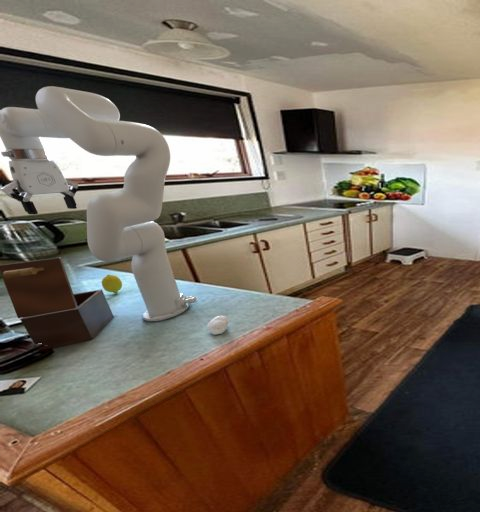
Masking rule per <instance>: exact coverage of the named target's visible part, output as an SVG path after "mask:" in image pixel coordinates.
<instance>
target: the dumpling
mask: <svg viewBox="0 0 480 512" xmlns="http://www.w3.org/2000/svg"><path fill="white" fill-rule="evenodd" d="M228 324H229V318H228V317H227V316H225V315H217V316H215V317H214V318H212V319H211V320H209V322H208V323H207V325H206V329H207V330H208V331H210V333H211V334H212V335H214V336H215V335H222V334H223V333H225V332H226V330H227V328H228Z"/></svg>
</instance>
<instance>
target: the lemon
mask: <svg viewBox="0 0 480 512" xmlns="http://www.w3.org/2000/svg"><path fill="white" fill-rule="evenodd" d="M101 286H102V289H103V290H104V291H106V292H108V293H114V294H117V293H118V292H119V291H120V290H121V289H122V287H123V282H122V280H121V278H120V277H119V276H117V275H113V274H107V275H106V276H104V277H103V278H102V280H101Z"/></svg>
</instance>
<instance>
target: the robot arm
mask: <svg viewBox="0 0 480 512" xmlns="http://www.w3.org/2000/svg"><path fill="white" fill-rule="evenodd" d="M35 104H36V107H37V108H28V107H27V108H26V107H18V106H17V107H16V106H6V107H3V108H2V109H0V139H1V141H2V143H3V146H4V148H5V151H1V155H2V156H3V157H4V158H5V157H7V158H8V159H9V161H8V165H9V167H8V168H9V171H10V174H11V178H12V180H13V181H12V182H10V183H8V184H5V185H4V186H2V187H0V190H1V191H2V193H4V194H6V195H7V196H8V197H9V198H11V199H14V200H16V201H17V202H19V203H21V206H22V208H23V210H24V211H25V212H26V213H27V214H28V215H33V216H34V215H38V214H39V212H38V210H37V208H36V206H35V204H34V202H33V201H31V199H32V197H33V196H34V195H46V194H55V193H57V194H59V193H60V194H61V195H63V201H64V202H65V206H66V207H67V209H69V210H76V209H77V208H78V207H77V203H76V200H75V196H76V193H77V192H78V189H79V183H78V182H77V181H74V180H70V179H66V177H65V175H64V174H63V172H62V170H61V169H60V167H59V165H58V164H57V163H56V161H55V160H54V159H53V160H50V157H49V155H48V152H47V150H46V148H45V145H44V143H43V141H42V138H49V139H50V138H51V139H70V141H72V142H73V143H75V144H76V145H77V146H79V148H81V149H82V150H84V151H86V153H87V152H88V153H89V154H92V155H96V156H102V157H135V159H134V160H133V161H132V162H131V164H129V166H128V167H127V168H126V171H125V173H124V176H123V177H124V179H123V180H124V181H123V187H122V189H121V190H118V191H110V192H105V193H104V192H103V193H99V194H97V195H94V196H92V197H91V198H90V199H89V201H88V203H87V205H86V239H87V247H88V249H89V251H90V253H91V254H92V256H93V257H94V258H96V259H97V260H99V261H102V262H107V263H108V262H109V263H111V262H117V261H121V260H123V259H126V258H127V259H128V258H130V257H131V258H132V259H131V264H130V269H131V272H132V274H133V278H134V280H135V283H136V285H137V288H138V290H139V293H140V295H141V298H142V300H143V303H144V305H145V308H146V311H144V312H143V314H142V317H143V320H144V321H147V322H159V321H165V320H168V319H171V318H174V317H176V316H179V315H180V314H182V313H184V312H185V311H186V310H188V308H189V307H190V304H195V303H197V302H198V300H197V297H196V296H194V295H188V296H185V294H184V293H183V292H180V290H179V288H178V285H177V281H176V278H175V275H174V272H173V269H172V266H171V262H170V259H169V257H168V252H167V247H166V236H165V232H164V229H163V228H162V226H160V225H159V224H158V223H157V222H155V221H156V220H157V219H159V217H160V216H161V215H162V210H163V201H164V194H165V193H164V192H165V183H166V178H167V174H168V171H169V168H170V165H171V164H170V163H171V151H170V147H169V144H168V141H167V140H166V138H165V136H164V135H163V134H162V133H161V132H160V131H159V130H157V128H155V127H153V126H150V125H147V124H145V123H140V122H134V121H125V120H120V118H121V114H120V110H119V109H118V107H117V106H116V105H115V103H114V102H113V101H111V100H110V99H109V98H107V97H105V96H103V95H100V94H98V93H95V92H89V91H83V90H78V89H72V88H66V87H60V86H53V85H51V86H49V85H48V86H44V87H42V88H40V89H38V91H37V92H36V94H35ZM14 189H16V190H17V191H18V193H19V194H18V193H16V192H14V191H13V190H14Z"/></svg>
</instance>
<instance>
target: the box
mask: <svg viewBox="0 0 480 512" xmlns="http://www.w3.org/2000/svg"><path fill="white" fill-rule="evenodd" d="M73 294H74V297H75V300H76V303H77V306H78V307H77V308H73V309H67V310H61V311H56V312H50V313H45V314H39V315H34V316H28V317H23V318H19V319H20V322H21V324H22V325H23V327H24V329H25V330H26V332H27V334H28V335H29V337H30V339H31V341H32V342H33V344H34V345H35V344H38V343H42V344H44V345H48V346H44V347H40V348H38V349H37V351H38V352H39V351H45V350H49V349H53V348H58V347H61V346H62V347H63V346H67V345H72V344H78V343H82V342H87V341H90V340H93V339H94V338H95V337H96V336H97V335H98V334H99V333H100V332H101V331H102V330H103V329H104V328H105V327H106V326H107V325H108V324H109V323H110V322H111V320H112V319H114V316H115V315H114V313H113V312H112V309H111V307H110V305H109V302H108V300H107V298H106V296H105V294H104V291H103V288H102V289H96V290H90V291H84V292H78V293H77V292H76V293H73Z"/></svg>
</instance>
